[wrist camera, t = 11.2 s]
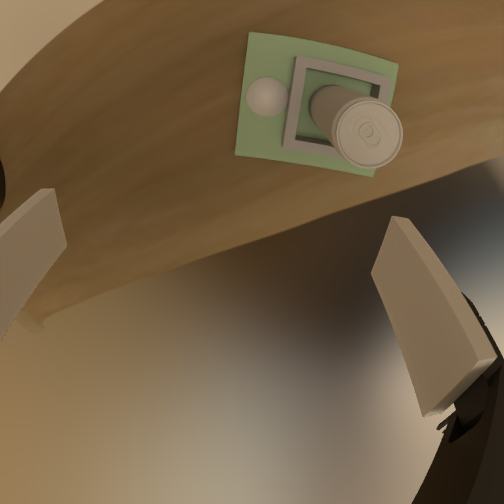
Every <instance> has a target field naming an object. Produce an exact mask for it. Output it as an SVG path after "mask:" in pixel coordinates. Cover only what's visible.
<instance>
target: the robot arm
mask: <svg viewBox="0 0 504 504" xmlns="http://www.w3.org/2000/svg"><path fill="white" fill-rule="evenodd" d="M4 195H5V182H4V174H3V170H2V166H1V163H0V208H1V206H2V204H3V200H4ZM66 247H67V242H66V238H65V234H64V230H63V226H62V222H61V217H60V213H59V208H58V203H57V198H56V193H55V188H47V189H40V190H39V191H38V192H36V193H35V194H34V195H33V196H31V197H30V198H29V199H28V200H27V201H25V202H24V203H23V204H22V205H21V206H20V207H18V208H17V209H16V210H15V211H14V212H13V213H12V214H10V215H9V216H8V217H7V218H6V219H5V220H4V221H3V222H2V223H1V224H0V343H1V342H2V340H3V338H4V336H5V335H6V333H7V331H8V330H9V328H10V326H11V325H12V323H13V322H14V320H15V318H16V317H17V315H18V314H19V312H20V311H21V309H22V307H23V306H24V304H25V303H26V301H27V300H28V299H29V297H30V296H31V294H32V293H33V291H34V290H35V288H36V287H37V286H38V284H39V283H40V281H41V280H42V279H43V277H44V276H45V274H46V273H47V272H48V270H49V269H50V268H51V266H52V265H53V264H54V262H55V261H56V260H57V259H58V257H59V256H60V255H61V253H62V252H63V251H64V250H65V248H66ZM371 275H372V277H373V279H374V282H375V284H376V287H377V289H378V291H379V294H380V296H381V299H382V301H383V303H384V306H385V309H386V311H387V313H388V316H389V318H390V321H391V324H392V326H393V329H394V332H395V334H396V337H397V339H398V342H399V345H400V348H401V351H402V353H403V356H404V359H405V362H406V365H407V368H408V371H409V374H410V377H411V380H412V383H413V386H414V390H415V393H416V396H417V399H418V403H419V406H420V409H421V413H422V416H423V417H427V416H431V415H436V414H440V413H443V412H444V411H445V410H446V409H447V408H448V407H449V406H450V405H451V404H453V403H454V405H455V408H456V411H454V412H453V413H452V414H451V415H450V416H449V417H447V418H446V419H445V420H444V421H443V422H441V423H440V424H439V425H438V427H437V430H440V429H441V428H442V427H444V426H445V425H446V424H447V427H446V429H445V430H444V431H443V432H442V433H444V436H443V438H442V441H441V443H440V445H439V448H438V450H437V452H436V455H435V457H434V460H433V462H432V464H431V466H430V468H429V470H428V473H427V475H426V477H425V479H424V481H423V483H422V485H421V487H420V489H419V491H418V493H417V495H416V496H415V498H414V500H413V502H412V504H504V359H503V356H502V354H501V352H500V350H499V349H498V347H497V345H496V343H495V341H494V339H493V337H492V336H491V334H490V332H489V330H488V328H487V327H486V326H485V325H484V324H485V323H484V321H483V320H482V318H481V316H479V313H478V311H477V309H476V308H475V306H474V305H473V303H472V302H471V301H470V300H469V299H468V298H467V297H466V296H465V295H464V294H463V293H462V292H460V290H459V289H458V287H457V285H456V284H455V282H454V281H453V279H452V278H451V276H450V275H449V273H448V272H447V270H446V269H445V267H444V266H443V264H442V263H441V262H440V260H439V259H438V257H437V256H436V254H435V253H434V252H433V251H432V249H431V248H430V246H429V245H428V244H427V242H426V241H425V240H424V238H423V237H422V235H421V234H420V233H419V232H418V230H417V229H416V228H415V227H414V225H413V224H412V223H411V221H410V220H409V219H408V218H401V217H396V216H392V217H391V220H390V223H389V226H388V229H387V232H386V235H385V237H384V240H383V243H382V246H381V248H380V251H379V254H378V257H377V259H376V262H375V264H374V267H373V269H372V272H371Z"/></svg>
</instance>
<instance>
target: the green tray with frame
mask: <svg viewBox="0 0 504 504" xmlns="http://www.w3.org/2000/svg"><path fill="white" fill-rule="evenodd" d="M398 67H399V64H396V63H393V62H390V61H387V60H384V59H381V58H378V57H375V56H372V55H368V54H365V53H361V52H358V51H354V50H350V49H346V48H342V47H338V46H334V45H330V44H325V43H320V42H316V41H311V40H305V39H300V38H294V37H287V36H281V35H273V34H265V33H256V32H249V37H248V45H247V52H246V60H245V68H244V76H243V85H242V93H241V102H240V110H239V119H238V128H237V138H236V147H235V155H238V156H247V157H255V158H263V159H271V160H278V161H285V162H291V163H298V164H304V165H310V166H316V167H322V168H327V169H333V170H338V171H343V172H348V173H353V174H358V175H363V176H368V177H372V178H373V176H374V173H375V169H376V168H372V169H366V168H361V167H358V166H356V165H354V164H352V163H350V162H348V161H346V160H345V159H344V158H343V157H342V156H341V155H340V154H339V153H338V152H337V150H336V149H335V148H334V146H333V145H332V144H331V143H330V141H329V140H328V139H327V137H326V136H325V135H324V133H323V132H322V131H321V130H320V129H319V127H318V126H317V125H316V124H315V122H314V121H313V120H312V118H311V116H310V113H309V102H310V99H311V97H312V95H313V94H314V93H315V91H316V90H318V89H319V88H321V87H323V86H326V85H338V86H342V87H345V88H348V89H351V90H354V91H357V92H360V93H363V94H366V95H368V96H371V97H374V98H377V99H379V100H381V101H382V102H384V103H386V104H387V105H388V106H389V107H390V108H391V103H392V98H393V93H394V88H395V83H396V78H397V73H398Z"/></svg>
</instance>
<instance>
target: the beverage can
mask: <svg viewBox="0 0 504 504" xmlns="http://www.w3.org/2000/svg"><path fill="white" fill-rule="evenodd" d="M309 113H310V116H311V118H312V120H313V121H314V122H315V124H316V125H317V126H318V127H319V129H320V130H321V131H322V132H323V133H324V135H325V136H326V137H327V139H328V140H329V141H330V143H331V144H332V145H333V146H334V148H335V149H336V150H337V152H338V153H339V154H340V155H341V156H342V157H343V158H344V159H345V160H346V161H348V162H350V163H352V164H354V165H356V166H358V167H361V168H366V169H372V168H378V167H381V166H384V165H385V164H387V163H389V162H390V161H391V160H392V159H393V158H394V157H395V156H396V155H397V153H398V151H399V149H400V148H401V144H402V140H403V129H402V125H401V122H400V120H399V118H398V116H397V114H396V113H395V112H394V111H393V110H392V109H391V108H390V107H389V106H388V105H387V104H386V103H384V102H382V101H381V100H379V99H377V98H374V97H371V96H368V95H366V94H363V93H360V92H357V91H354V90H351V89H348V88H345V87H342V86H338V85H326V86H323V87H321V88H319V89H318V90H316V91H315V93H314V94H313V95H312V97H311V99H310V102H309Z"/></svg>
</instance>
